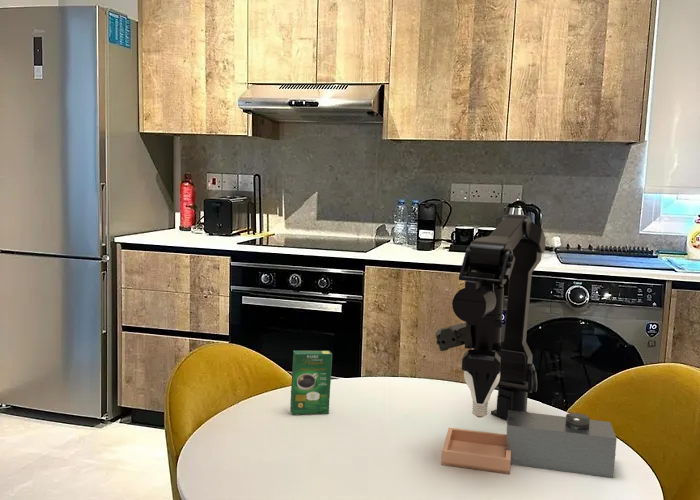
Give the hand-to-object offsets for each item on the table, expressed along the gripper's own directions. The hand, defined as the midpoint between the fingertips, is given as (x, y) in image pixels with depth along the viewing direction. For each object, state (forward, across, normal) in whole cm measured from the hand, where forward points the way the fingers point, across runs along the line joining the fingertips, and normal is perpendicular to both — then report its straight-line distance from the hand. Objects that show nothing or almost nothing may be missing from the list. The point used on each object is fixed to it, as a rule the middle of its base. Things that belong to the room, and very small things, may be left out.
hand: (480, 397), depth 120 cm
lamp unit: (+11, -2, +14) cm, 18 cm away
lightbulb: (+4, 0, 0) cm, 4 cm away
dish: (+11, 0, 0) cm, 11 cm away
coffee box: (+11, -11, -35) cm, 38 cm away
